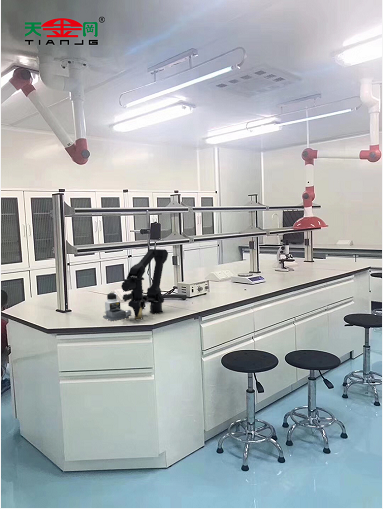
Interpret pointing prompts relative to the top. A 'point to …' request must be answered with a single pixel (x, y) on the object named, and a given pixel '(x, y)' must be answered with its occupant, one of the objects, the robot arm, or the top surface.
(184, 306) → the top surface
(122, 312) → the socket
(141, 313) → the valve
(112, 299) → the medicine bottle
